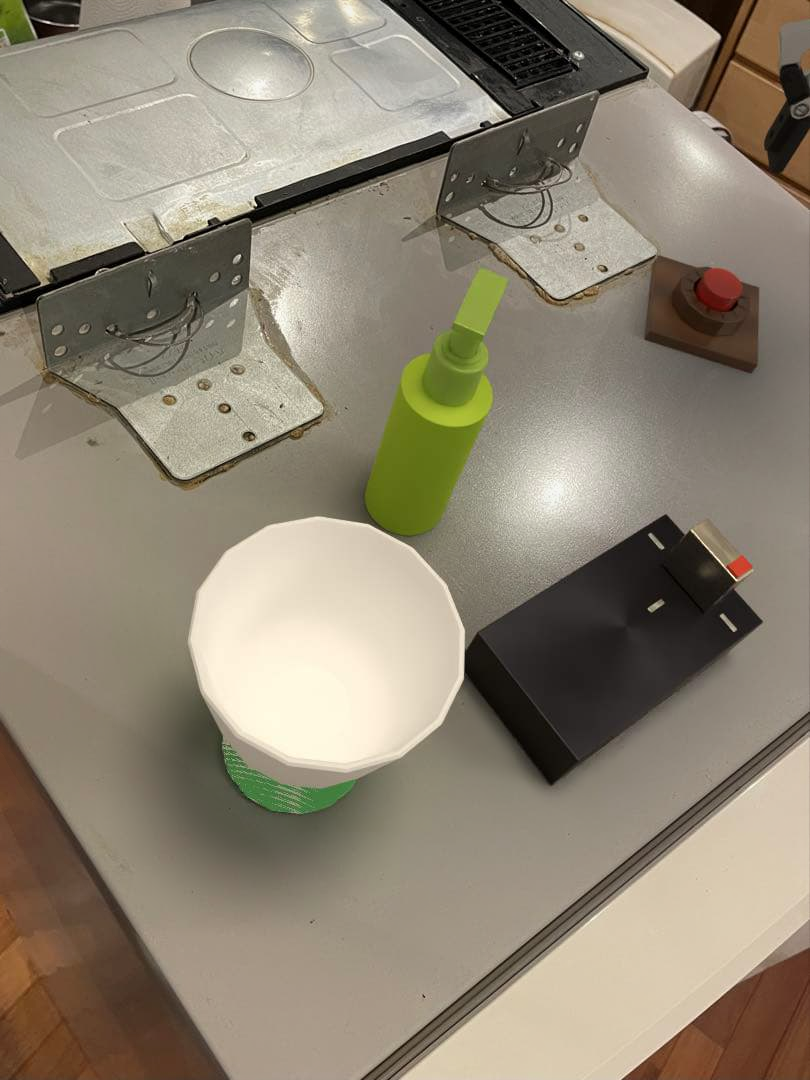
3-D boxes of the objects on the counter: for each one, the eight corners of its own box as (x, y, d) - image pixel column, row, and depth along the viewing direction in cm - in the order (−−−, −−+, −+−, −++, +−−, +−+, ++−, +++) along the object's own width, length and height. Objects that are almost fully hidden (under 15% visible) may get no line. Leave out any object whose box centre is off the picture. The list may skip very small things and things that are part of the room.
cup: (417, 844, 60) (490, 760, 47) (185, 866, 56) (192, 783, 43) (387, 637, 66) (444, 513, 53) (178, 646, 63) (183, 515, 50)
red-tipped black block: (660, 562, 68) (691, 527, 64) (677, 551, 69) (709, 515, 65) (704, 613, 67) (739, 580, 63) (721, 601, 67) (756, 568, 64)
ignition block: (652, 263, 92) (666, 239, 89) (753, 296, 92) (769, 272, 90) (644, 340, 86) (658, 316, 84) (751, 373, 87) (768, 351, 84)
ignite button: (695, 277, 88) (704, 262, 87) (733, 289, 88) (743, 275, 87) (693, 305, 86) (703, 290, 85) (732, 317, 86) (742, 303, 85)
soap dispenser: (457, 477, 74) (543, 286, 58) (428, 548, 71) (510, 366, 54) (386, 446, 75) (450, 247, 58) (352, 515, 71) (411, 324, 54)
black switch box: (654, 537, 75) (684, 501, 71) (744, 639, 72) (782, 608, 68) (456, 663, 67) (477, 630, 62) (550, 786, 63) (579, 760, 59)
